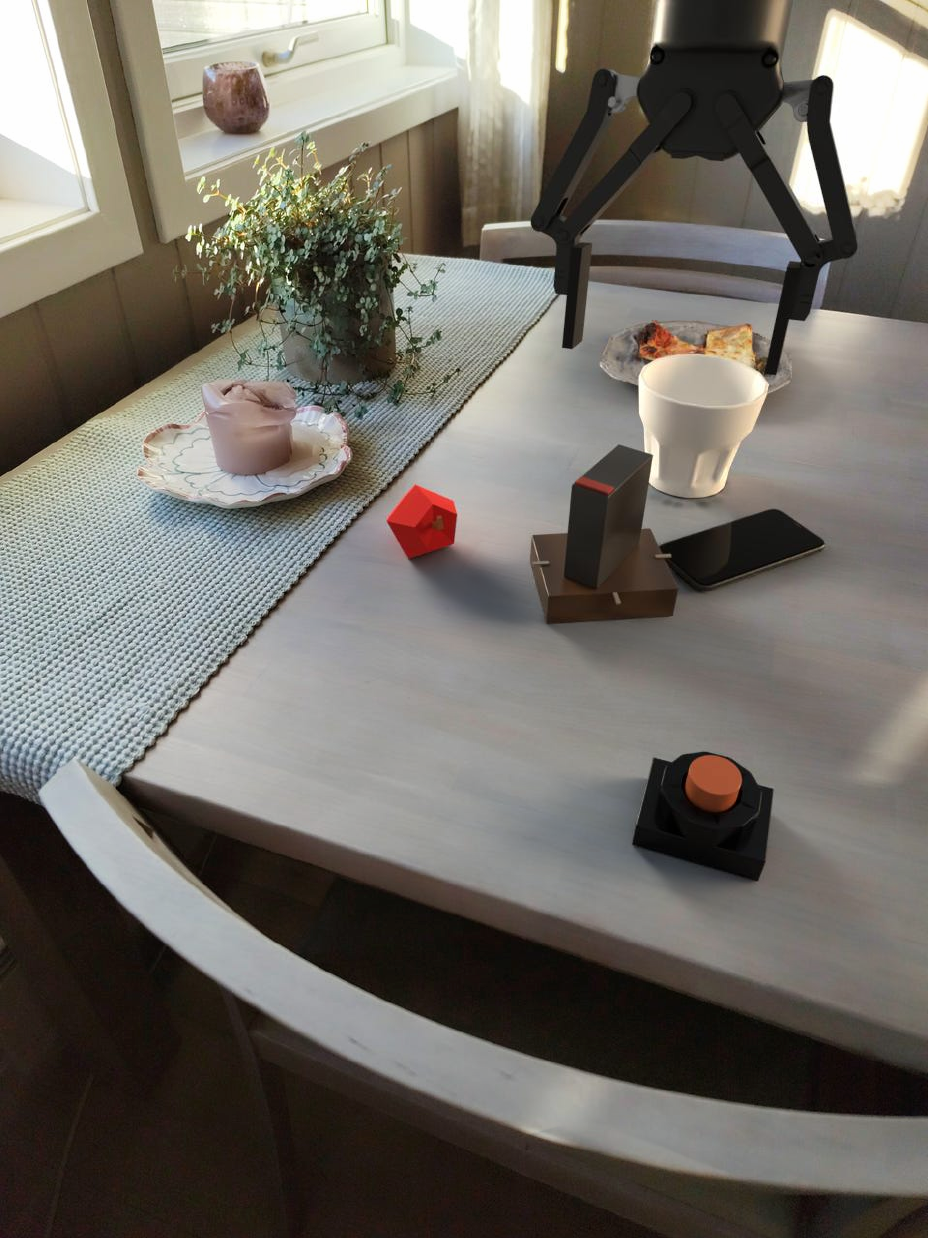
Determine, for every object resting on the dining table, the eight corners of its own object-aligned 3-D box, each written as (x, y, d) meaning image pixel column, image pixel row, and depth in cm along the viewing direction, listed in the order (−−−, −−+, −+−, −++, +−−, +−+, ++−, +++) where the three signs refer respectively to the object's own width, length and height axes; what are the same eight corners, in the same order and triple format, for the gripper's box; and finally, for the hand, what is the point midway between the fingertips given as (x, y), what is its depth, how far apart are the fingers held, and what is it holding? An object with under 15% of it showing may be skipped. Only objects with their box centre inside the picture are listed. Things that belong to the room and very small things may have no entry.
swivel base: (647, 544, 82) (652, 516, 80) (685, 627, 73) (691, 598, 71) (520, 551, 81) (522, 523, 79) (542, 636, 72) (544, 607, 70)
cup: (607, 456, 95) (619, 359, 88) (711, 442, 97) (730, 347, 90) (654, 516, 86) (672, 414, 79) (767, 500, 88) (794, 399, 81)
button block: (766, 808, 59) (780, 770, 56) (758, 882, 54) (772, 844, 52) (648, 777, 61) (657, 738, 58) (631, 846, 56) (639, 807, 54)
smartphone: (701, 596, 76) (829, 550, 81) (702, 588, 76) (831, 543, 81) (650, 552, 81) (774, 512, 86) (652, 545, 81) (776, 505, 86)
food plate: (617, 326, 124) (619, 302, 121) (786, 344, 119) (792, 318, 116) (588, 402, 105) (591, 375, 103) (787, 427, 100) (795, 398, 98)
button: (738, 780, 56) (744, 762, 55) (733, 818, 53) (738, 801, 52) (688, 767, 57) (693, 749, 56) (681, 804, 54) (685, 786, 53)
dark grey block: (607, 532, 78) (618, 441, 72) (639, 544, 77) (654, 451, 71) (563, 576, 73) (571, 482, 67) (596, 589, 72) (608, 494, 66)
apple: (371, 480, 81) (404, 491, 74) (437, 477, 84) (474, 487, 77) (372, 553, 83) (404, 570, 76) (436, 547, 86) (473, 563, 79)
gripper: (969, -23, 47) (863, 367, 58) (534, -22, 55) (513, 324, 66) (985, -42, 41) (863, 396, 52) (494, -38, 49) (478, 346, 60)
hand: (668, 357), depth 59 cm, fingers open, 13 cm apart
